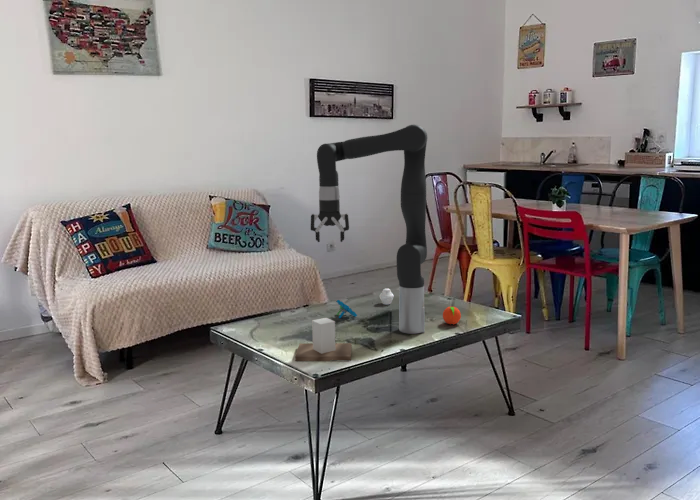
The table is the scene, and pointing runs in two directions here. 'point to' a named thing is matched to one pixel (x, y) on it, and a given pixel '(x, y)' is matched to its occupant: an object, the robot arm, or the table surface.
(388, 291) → the white vase
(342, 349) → the base plate
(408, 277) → the robot arm
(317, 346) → the block
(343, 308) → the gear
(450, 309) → the clementine
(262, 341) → the table surface
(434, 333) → the table surface
